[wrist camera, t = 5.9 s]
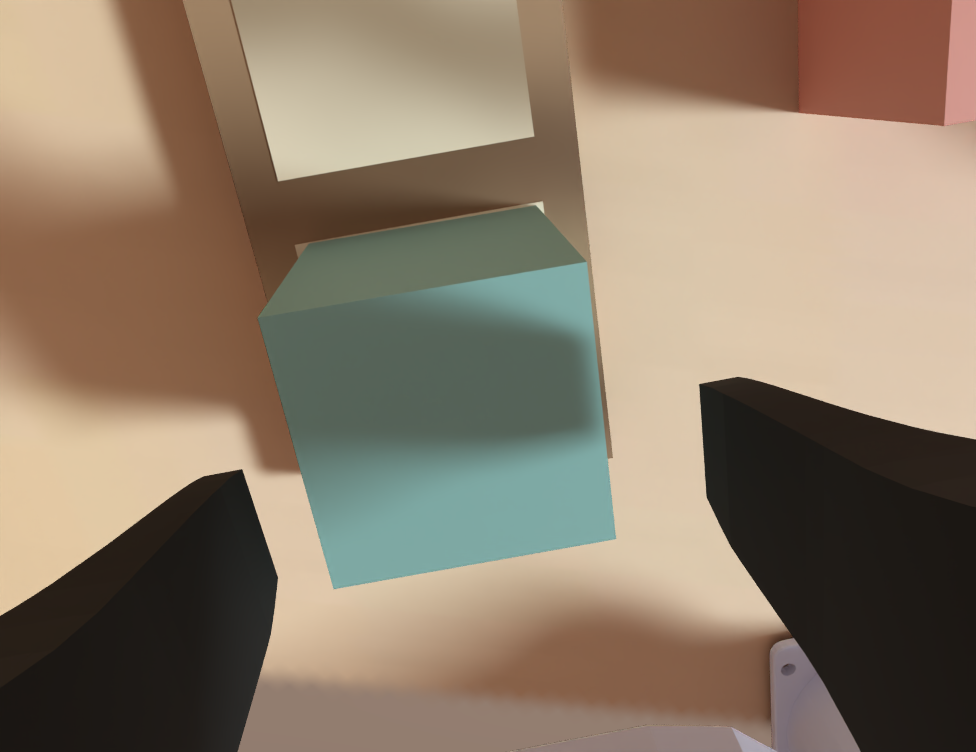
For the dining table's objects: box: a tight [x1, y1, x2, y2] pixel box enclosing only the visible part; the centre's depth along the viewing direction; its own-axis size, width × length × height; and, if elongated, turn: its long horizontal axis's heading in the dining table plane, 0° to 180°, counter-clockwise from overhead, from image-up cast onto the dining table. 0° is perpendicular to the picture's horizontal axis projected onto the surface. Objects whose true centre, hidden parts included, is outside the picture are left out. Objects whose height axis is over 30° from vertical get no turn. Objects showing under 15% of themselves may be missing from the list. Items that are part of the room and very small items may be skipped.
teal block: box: [258, 205, 616, 589], centre depth 16 cm, size 6×6×6 cm
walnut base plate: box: [183, 0, 613, 459], centre depth 19 cm, size 16×8×2 cm, turn 9°
